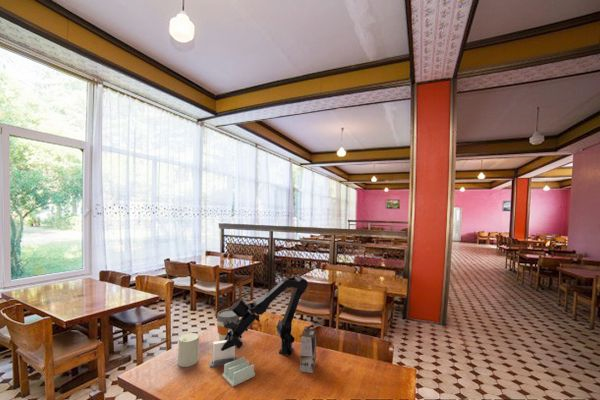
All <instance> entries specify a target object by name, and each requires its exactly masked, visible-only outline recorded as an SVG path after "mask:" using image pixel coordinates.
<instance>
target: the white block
mask: <svg viewBox="0 0 600 400" xmlns="http://www.w3.org/2000/svg"><path fill="white" fill-rule="evenodd" d="M226 341H227V340H223V341H218V340H217V341H213V347H212V361H213V363H212V365H214V361H216V360H222V359H228V358H233V357H234V360H235V356H236V346H233V347H230V348H228V349H226V350H224V351H222V350H221V348H222V347H223V345H224V344H225V343H226Z"/></svg>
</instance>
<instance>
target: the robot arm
mask: <svg viewBox="0 0 600 400" xmlns="http://www.w3.org/2000/svg"><path fill="white" fill-rule="evenodd" d="M308 286H309V282H308V280H307V279H306V278H304V277H303V276H296V277H283V278H282V279H281V280H280V281H279V282H278V283H277V284H276V285H275V286H274V287H273V288H272V289H270V290H269V291H268V292H267V293H266V294H265V295H263V296H260V297H259V298H257V299H256V300H254V301H253V302H249V303H246V302H244V300H243V298H240V299H239V300H237V301H236V302H235V301H234V303H233V304H232V306H231V308H230V309H231V310H232V311H233V312H234V313H235V314H236V315H237V316H238V317H240V318H239V319H237V321H235V320H232V319H229V318H226V319H225V321H224V323H223V325H224V327H225V328H229V330H227V335H226V337H225V339H224V340H227V341H226V343H225V344H224V345H223V347H222V348H221V350H222V351H224V350H226V349H228V348H230V347H233V346H235V348H238V349H241V348H242V347H243V345H244V344H243V343H244V342H243V340H242V338H243V334H244V333H245V332H248V331H249V327H250V326H252V324H253V323H254V322H255V321H257V322H258V323H259V322H260V316H261V315H263V314H264V313H265V312H266V311H267V310H268V309H269V307H270V304H271V303H272V302H273V301H274V300H275V299H276V298H277V297H279V295H281V294H282V293H283V292H285V290H287V288H292V294H291V297H290V298H289V299H290V300H289V302H288V305H287V308H286V310H285V313H284V316H283V318H282V319H281V320H280V319H279V320H277V321H278V322H277V324H276V332H277V334H278V336H279V337H280V338H281V339H280V340H281V341H280V343H281V346H280V350H279V352H278V353H279V354H281V355H287V356H291V355H292V354H293V352H294V350H295V348H294V347H293V343H294V342H295V341H296V340H295V339H296V338H295V337H294V335H293V334H292V326H293V323H292V322H293V319H294V317H295V314H296V311H297V308H298V305H299V302H300V299H301V297H302V295H303V294H304V293H305V292H306V290H307V288H308Z"/></svg>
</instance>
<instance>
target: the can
mask: <svg viewBox="0 0 600 400" xmlns="http://www.w3.org/2000/svg"><path fill="white" fill-rule="evenodd" d="M199 339H200V334H198V333H197V332H196V333H195V332H189V333H184V334H182V335H180V336H179V337H178V352H177V354H178V355H177V362H176V363H177V364H176V365H178V367H182V368H187V367H192V366H194V365H195V364H196V363H198V362H199V341H200V340H199Z"/></svg>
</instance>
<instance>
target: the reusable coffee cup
mask: <svg viewBox="0 0 600 400" xmlns="http://www.w3.org/2000/svg"><path fill="white" fill-rule="evenodd" d="M216 315H217V317H216V320H217V324H216V327H217V333H218V338H219V341H223V340H224V339H225V337H226V335H227V330H229V328H225V327H224V325H223V323H224V321H225V319H226V318H229V319H232V320H235V321H237V319H241V317H238V316H237V315H236V314H235V313H234V312H233V311H232V310H231V308H228V309H226V308H225V309H222V310H219V311H218V312H217V314H216Z"/></svg>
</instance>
